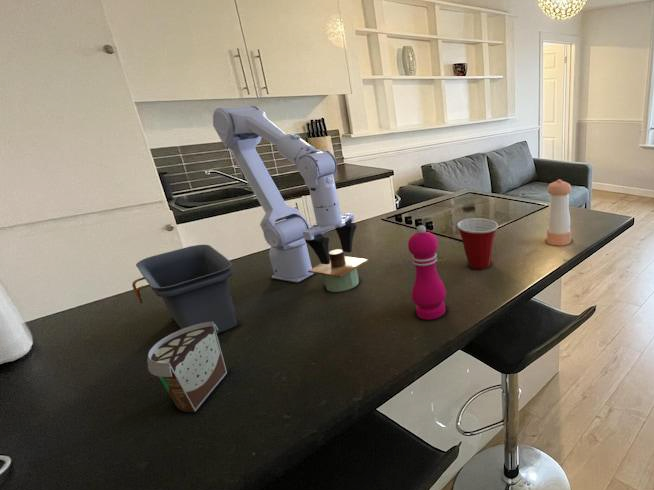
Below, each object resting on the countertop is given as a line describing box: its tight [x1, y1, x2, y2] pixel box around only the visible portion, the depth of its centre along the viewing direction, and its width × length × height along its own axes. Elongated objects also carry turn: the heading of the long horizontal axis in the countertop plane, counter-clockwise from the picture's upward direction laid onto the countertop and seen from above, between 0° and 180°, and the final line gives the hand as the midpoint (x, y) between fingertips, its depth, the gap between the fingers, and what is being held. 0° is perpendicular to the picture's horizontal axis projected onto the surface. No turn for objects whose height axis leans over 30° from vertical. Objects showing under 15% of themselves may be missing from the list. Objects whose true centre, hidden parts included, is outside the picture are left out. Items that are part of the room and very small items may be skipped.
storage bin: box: [131, 244, 238, 335], centre depth 86 cm, size 21×16×14 cm
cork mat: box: [308, 248, 369, 278], centre depth 101 cm, size 10×10×4 cm
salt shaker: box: [546, 178, 573, 246], centre depth 121 cm, size 7×7×19 cm
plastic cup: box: [456, 217, 499, 270], centre depth 109 cm, size 11×11×12 cm
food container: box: [146, 322, 228, 413], centre depth 66 cm, size 12×6×10 cm, turn 5°
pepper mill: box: [407, 224, 447, 321], centre depth 85 cm, size 7×7×20 cm
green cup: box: [322, 267, 360, 293], centre depth 103 cm, size 8×8×5 cm
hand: (336, 257), depth 101 cm, fingers open, 7 cm apart
